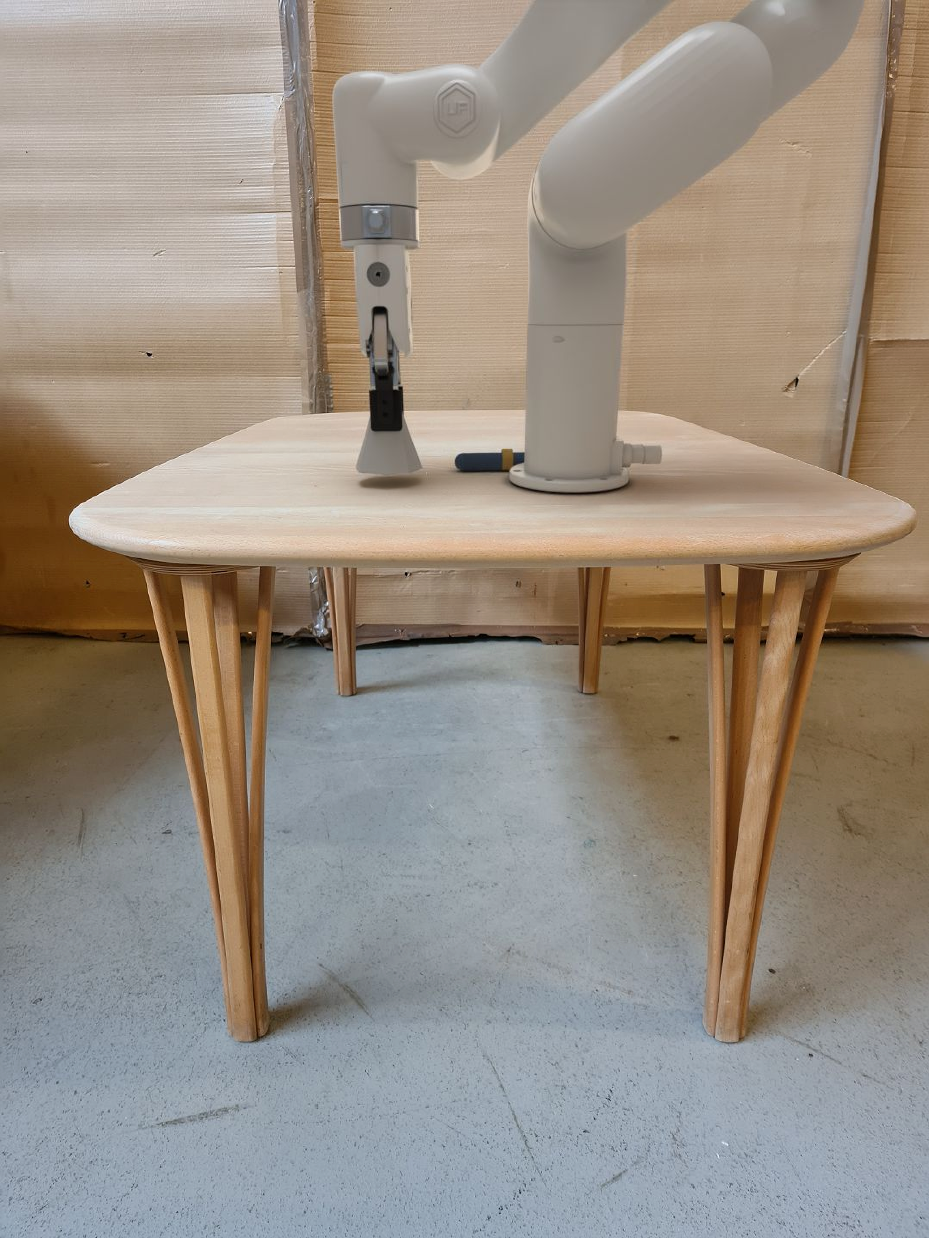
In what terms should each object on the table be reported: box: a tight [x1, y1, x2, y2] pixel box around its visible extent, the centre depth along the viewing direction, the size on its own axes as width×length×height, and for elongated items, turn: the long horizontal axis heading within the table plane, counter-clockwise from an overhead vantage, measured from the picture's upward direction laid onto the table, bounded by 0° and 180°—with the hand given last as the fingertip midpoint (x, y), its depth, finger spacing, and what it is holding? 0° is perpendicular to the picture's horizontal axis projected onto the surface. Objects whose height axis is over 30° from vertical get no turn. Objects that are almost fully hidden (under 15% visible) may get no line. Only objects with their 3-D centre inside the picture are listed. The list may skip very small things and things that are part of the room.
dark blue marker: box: [454, 448, 525, 472], centre depth 87 cm, size 12×2×2 cm, turn 92°
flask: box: [355, 371, 424, 476], centre depth 79 cm, size 7×7×10 cm
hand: (388, 426), depth 79 cm, fingers closed on flask, 3 cm apart
